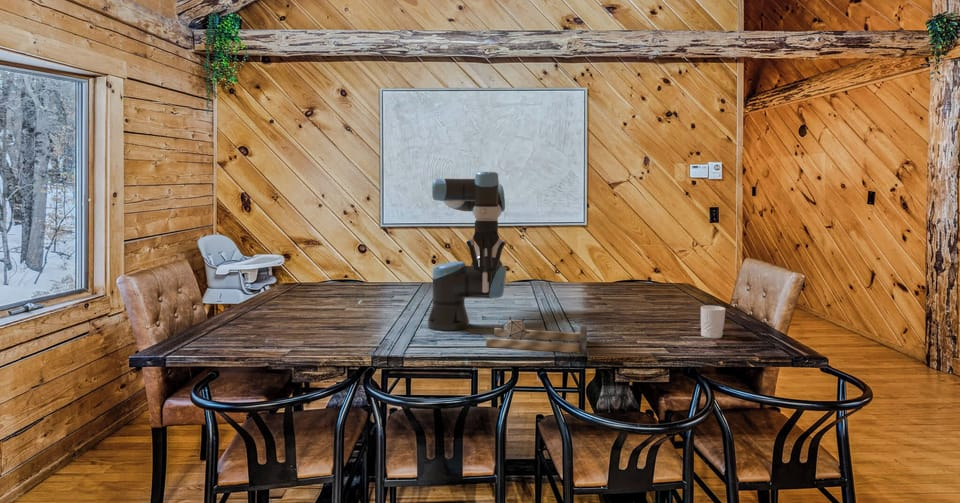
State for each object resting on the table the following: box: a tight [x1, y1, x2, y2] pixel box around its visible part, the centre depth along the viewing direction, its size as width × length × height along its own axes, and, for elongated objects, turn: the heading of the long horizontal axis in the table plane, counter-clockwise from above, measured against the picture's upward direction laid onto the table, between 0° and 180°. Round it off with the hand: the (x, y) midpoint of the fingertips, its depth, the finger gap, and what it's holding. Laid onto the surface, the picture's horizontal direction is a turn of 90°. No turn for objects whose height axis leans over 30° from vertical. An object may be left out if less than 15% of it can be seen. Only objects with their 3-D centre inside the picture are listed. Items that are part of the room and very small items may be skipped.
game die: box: [500, 316, 529, 340], centre depth 183 cm, size 9×8×10 cm
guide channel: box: [485, 325, 588, 354], centre depth 182 cm, size 31×15×5 cm, turn 78°
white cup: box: [700, 304, 726, 339], centre depth 193 cm, size 8×8×10 cm
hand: (485, 291), depth 184 cm, fingers closed
